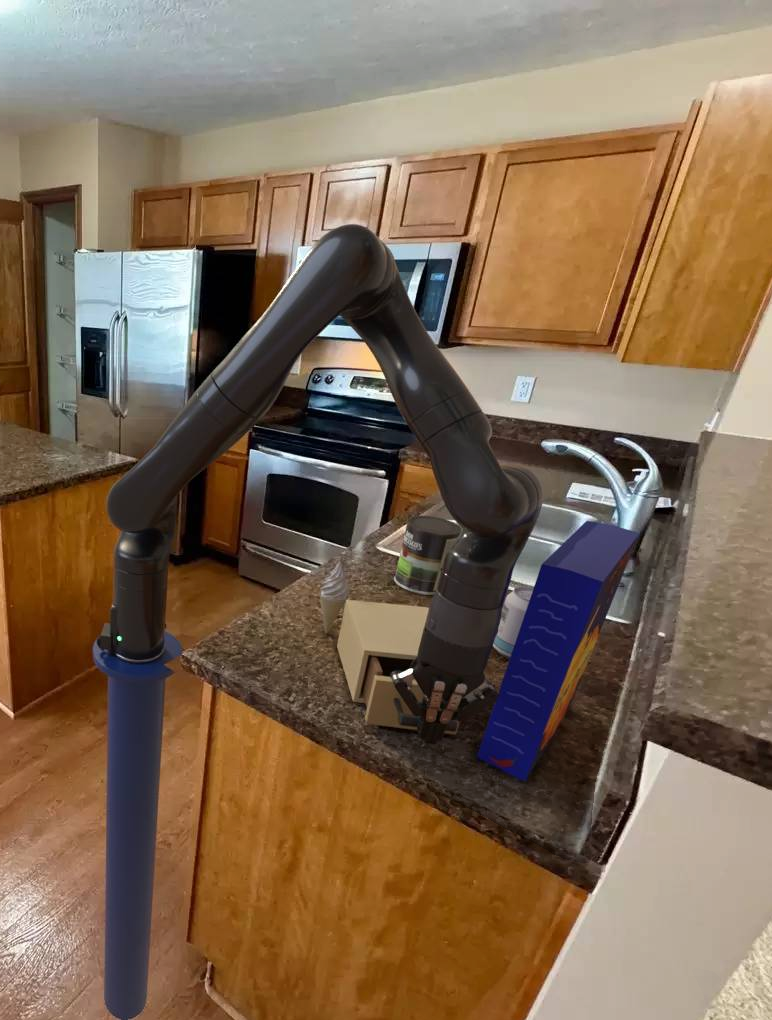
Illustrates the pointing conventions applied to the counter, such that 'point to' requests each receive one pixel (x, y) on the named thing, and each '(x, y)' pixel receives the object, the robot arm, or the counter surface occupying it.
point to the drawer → (391, 695)
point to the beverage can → (511, 620)
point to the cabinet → (377, 637)
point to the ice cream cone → (333, 596)
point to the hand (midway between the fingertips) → (427, 739)
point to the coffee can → (424, 553)
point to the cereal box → (555, 644)
